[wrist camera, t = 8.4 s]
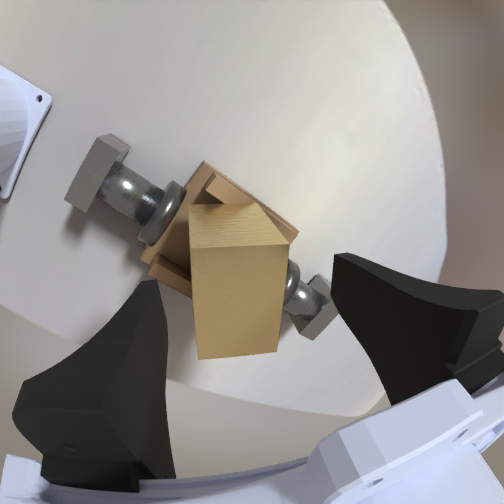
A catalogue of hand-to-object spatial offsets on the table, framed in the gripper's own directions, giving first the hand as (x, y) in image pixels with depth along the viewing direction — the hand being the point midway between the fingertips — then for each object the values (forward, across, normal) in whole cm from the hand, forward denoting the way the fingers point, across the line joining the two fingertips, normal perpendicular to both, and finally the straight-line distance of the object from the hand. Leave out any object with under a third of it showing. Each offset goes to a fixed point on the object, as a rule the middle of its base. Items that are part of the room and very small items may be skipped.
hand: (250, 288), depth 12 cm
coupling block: (+7, 0, +2) cm, 7 cm away
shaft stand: (+9, 0, +2) cm, 10 cm away
